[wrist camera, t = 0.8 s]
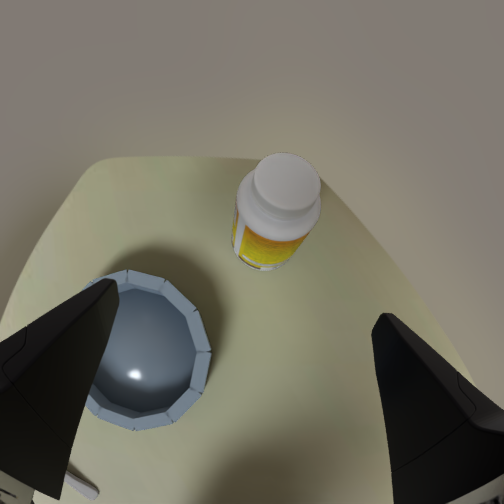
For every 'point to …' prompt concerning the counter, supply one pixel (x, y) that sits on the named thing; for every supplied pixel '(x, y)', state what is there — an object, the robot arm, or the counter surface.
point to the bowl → (150, 355)
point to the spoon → (81, 486)
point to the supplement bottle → (275, 210)
